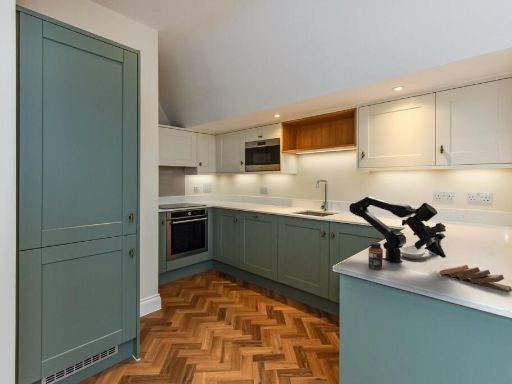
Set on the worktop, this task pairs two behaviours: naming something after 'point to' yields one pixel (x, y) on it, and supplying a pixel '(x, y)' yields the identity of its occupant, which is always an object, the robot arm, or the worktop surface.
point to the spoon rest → (413, 252)
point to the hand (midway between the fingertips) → (444, 257)
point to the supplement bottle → (375, 256)
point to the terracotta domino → (454, 269)
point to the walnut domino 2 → (475, 275)
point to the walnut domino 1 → (465, 272)
